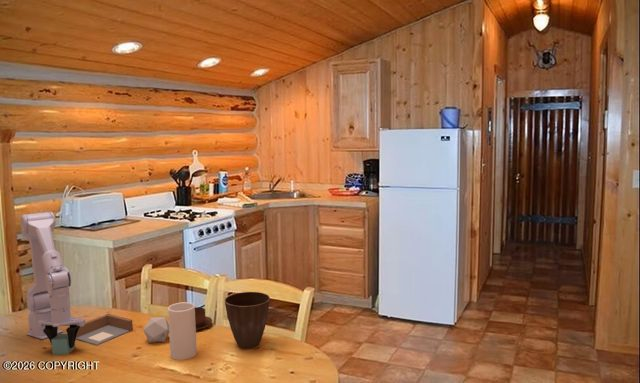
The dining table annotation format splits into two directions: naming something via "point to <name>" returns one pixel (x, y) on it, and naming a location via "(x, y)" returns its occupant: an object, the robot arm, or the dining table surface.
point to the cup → (182, 330)
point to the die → (157, 329)
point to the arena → (104, 329)
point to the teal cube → (61, 344)
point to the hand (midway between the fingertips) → (63, 346)
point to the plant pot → (247, 317)
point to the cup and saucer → (201, 318)
